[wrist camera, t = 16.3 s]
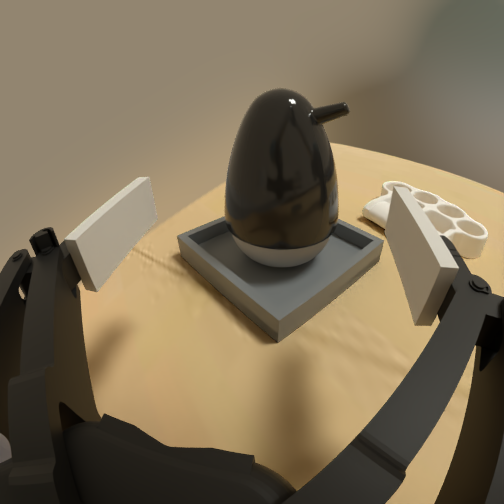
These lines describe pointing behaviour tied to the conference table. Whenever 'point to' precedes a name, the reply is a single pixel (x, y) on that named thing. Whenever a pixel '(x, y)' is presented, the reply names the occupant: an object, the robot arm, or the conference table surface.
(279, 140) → the pump dispenser
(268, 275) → the holder tray
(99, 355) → the conference table surface
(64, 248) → the robot arm
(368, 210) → the knuckle duster
